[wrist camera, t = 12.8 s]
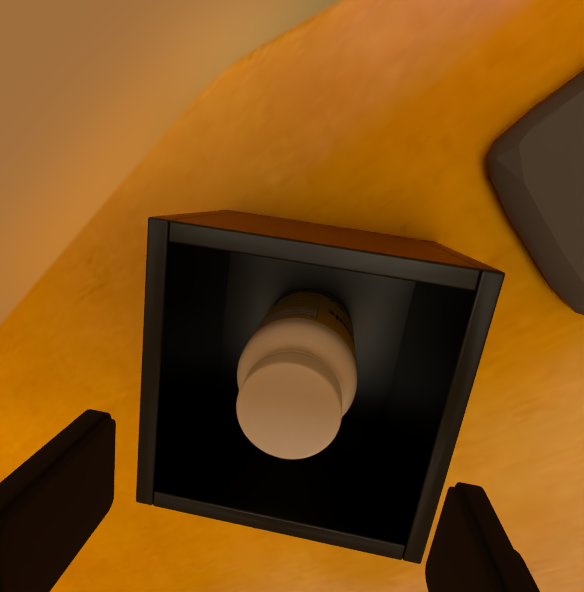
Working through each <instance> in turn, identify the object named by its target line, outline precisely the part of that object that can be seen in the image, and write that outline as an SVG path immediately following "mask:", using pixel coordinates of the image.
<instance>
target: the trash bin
mask: <svg viewBox="0 0 584 592" xmlns="http://www.w3.org/2000/svg"><path fill="white" fill-rule="evenodd" d="M504 276H505V273H504V272H502V271H499V270H497V269H495V268H493V267H490V266H488V265H486V264H484V263H481V262H479V261H477V260H475V259H472V258H470V257H468V256H466V255H463V254H461V253H459V252H457V251H454V250H452V249H450V248H448V247H445V246H443V245H441V244H439V243H437V242H434V241H427V240H420V239H414V238H407V237H401V236H394V235H388V234H381V233H375V232H368V231H361V230H355V229H348V228H342V227H335V226H329V225H322V224H316V223H309V222H302V221H296V220H289V219H283V218H276V217H270V216H263V215H257V214H250V213H243V212H237V211H230V210H220V211H209V212H198V213H187V214H176V215H166V216H155V217H149V218H148V237H147V260H146V282H145V305H144V328H143V351H142V374H141V397H140V420H139V443H138V466H137V489H136V502H139V503H144V504H148V505H152V504H153V505H154V506H157V507H162V508H166V509H171V510H175V511H180V512H184V513H189V514H194V515H198V516H203V517H207V518H212V519H216V520H221V521H225V522H230V523H235V524H239V525H244V526H248V527H253V528H257V529H262V530H266V531H271V532H276V533H280V534H285V535H289V536H294V537H298V538H303V539H307V540H312V541H317V542H321V543H326V544H330V545H335V546H339V547H344V548H348V549H353V550H358V551H362V552H367V553H371V554H376V555H380V556H385V557H389V558H394V559H399V560H401V559H403V560H404V561H409V562H413V563H418V564H420V563H421V561H422V557H423V554H424V551H425V547H426V544H427V540H428V537H429V533H430V530H431V527H432V523H433V520H434V516H435V513H436V509H437V506H438V503H439V499H440V496H441V492H442V489H443V485H444V482H445V479H446V475H447V472H448V468H449V465H450V461H451V458H452V455H453V451H454V448H455V444H456V441H457V437H458V434H459V431H460V427H461V424H462V420H463V417H464V414H465V410H466V407H467V403H468V400H469V396H470V393H471V390H472V386H473V383H474V379H475V376H476V372H477V369H478V366H479V362H480V359H481V355H482V352H483V348H484V345H485V342H486V338H487V335H488V331H489V328H490V324H491V321H492V318H493V314H494V311H495V307H496V304H497V300H498V297H499V294H500V290H501V287H502V283H503V280H504ZM303 289H312V290H318V291H322V292H325V293H327V294H329V295H331V296H332V297H334V298H335V299H337V300H338V301H339V302H340V303H341V304H342V305H343V306H344V308H345V309H346V311H347V313H348V314H349V317H350V319H351V322H352V327H353V333H354V344H355V355H356V364H357V388H356V393H355V396H354V399H353V402H352V404H351V406H350V407H349V409H348V411H347V412H346V413H345V414H344V416H343V417H342V418H341V424H340V427H339V430H338V432H337V434H336V436H335V438H334V439H333V441H332V442H331V443H330V444H329V445H328V446H327V447H326V448H325V449H323V450H322V451H320V452H319V453H317V454H315V455H312V456H310V457H306V458H301V459H284V458H279V457H275V456H272V455H270V454H267V453H266V452H264V451H262V450H260V449H259V448H258V447H256V446H255V445H254V444H253V443H252V442H251V441H250V440H249V439H248V438H247V436H246V435H245V434H244V432H243V430H242V429H241V427H240V424H239V421H238V418H237V410H236V402H237V397H238V393H239V387H238V381H237V370H238V363H239V360H240V356H241V354H242V352H243V350H244V348H245V346H246V344H247V343H248V341H249V340H250V338H251V337H252V335H253V334H254V332H255V331H256V329H257V328H258V326H259V325H260V323H261V322H262V320H263V319H264V317H265V316H266V314H267V313H268V311H269V310H270V309H271V307H272V306H273V305H274V304H275V303H276V302H277V301H278V300H279V299H280V298H282V297H283V296H284V295H286V294H288V293H291V292H294V291H297V290H303Z"/></svg>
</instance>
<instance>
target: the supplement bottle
mask: <svg viewBox="0 0 584 592" xmlns="http://www.w3.org/2000/svg"><path fill="white" fill-rule="evenodd" d="M237 381H238V387H239V393H238V397H237V402H236V410H237V418H238V421H239V424H240V427H241V429H242V430H243V432H244V434H245V435H246V436H247V438H248V439H249V440H250V441H251V442H252V443H253V444H254V445H255V446H256V447H258V448H259V449H260V450H262V451H264V452H266V453H267V454H270V455H272V456H275V457H279V458H284V459H301V458H306V457H310V456H312V455H315V454H317V453H319V452H320V451H322V450H323V449H325V448H326V447H327V446H328V445H329V444H330V443H331V442H332V441H333V439H334V438H335V436H336V434H337V432H338V430H339V427H340V424H341V418H342V417H343V416H344V414H345V413H346V412H347V411H348V409H349V407H350V406H351V404H352V402H353V399H354V396H355V393H356V388H357V364H356V355H355V344H354V333H353V327H352V322H351V319H350V317H349V314H348V313H347V311H346V309H345V308H344V306H343V305H342V304H341V303H340V302H339V301H338V300H337V299H335V298H334V297H332V296H331V295H329V294H327V293H325V292H322V291H318V290H312V289H303V290H297V291H294V292H291V293H288V294H286V295H284V296H283V297H282V298H280V299H279V300H278V301H277V302H276V303H275V304H274V305H273V306H272V307H271V309H270V310H269V311H268V313H267V314H266V316H265V317H264V319H263V320H262V322H261V323H260V325H259V326H258V328H257V329H256V331H255V332H254V334H253V335H252V337H251V338H250V340H249V341H248V343H247V344H246V346H245V348H244V350H243V352H242V354H241V356H240V360H239V363H238V370H237Z"/></svg>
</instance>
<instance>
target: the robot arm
mask: <svg viewBox="0 0 584 592" xmlns="http://www.w3.org/2000/svg"><path fill="white" fill-rule="evenodd" d="M115 430H116V423H115V420H114V419H111V415H110V414H109V413H107V412H102V411H97V410H91V409H89V410H86V411H85V412H84V413H83V414H81V415H80V416H79V417H78V418H77V419H75V420H74V421H73V422H72V423H71V424H69V425H68V426H67V427H66V428H65V429H63V430H62V431H61V432H60V433H59V434H58V435H56V436H55V437H54V438H53V439H52V440H50V441H49V442H48V443H47V444H46V445H44V446H43V447H42V448H41V449H40V450H38V451H37V452H36V453H35V454H34V455H33V456H31V457H30V458H29V459H28V460H27V461H25V462H24V463H23V464H22V465H21V466H19V467H18V468H17V469H16V470H15V471H13V472H12V473H11V474H10V475H9V476H8V477H6V478H5V479H4V480H3V481H2V482H0V592H50V590H51V589H52V588H53V586H54V585H55V584H56V582H57V581H58V579H59V578H60V577H61V575H62V574H63V573H64V571H65V570H66V569H67V567H68V566H69V564H70V563H71V562H72V560H73V559H74V558H75V556H76V555H77V554H78V552H79V551H80V549H81V548H82V547H83V545H84V544H85V543H86V541H87V540H88V539H89V537H90V536H91V534H92V533H93V532H94V530H95V529H96V528H97V526H98V525H99V524H100V522H101V521H102V519H103V518H104V517H105V515H106V514H107V513H108V511H109V510H110V507H111V505H112V503H113V499H114V469H115ZM425 576H426V583H427V587H428V592H540V591H539V589H538V587H537V585H536V583H535V581H534V579H533V577H532V575H531V574H530V572H529V570H528V568H527V566H526V564H525V562H524V560H523V558H522V557H521V555H520V554H519V553H518V552H517V551H516V550H514V549H513V547H512V545H511V543H510V541H509V539H508V537H507V535H506V533H505V531H504V529H503V527H502V525H501V523H500V521H499V519H498V517H497V515H496V513H495V511H494V509H493V507H492V505H491V503H490V501H489V499H488V497H487V495H486V493H485V491H484V490H483V488H482V487H480V486H476V485H471V484H466V483H461V482H458V483H457V484H456V486H455V487H449V489H448V491H447V495H446V498H445V502H444V505H443V508H442V512H441V515H440V518H439V522H438V525H437V529H436V532H435V535H434V539H433V542H432V545H431V549H430V552H429V556H428V559H427V562H426V568H425Z"/></svg>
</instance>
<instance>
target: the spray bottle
mask: <svg viewBox="0 0 584 592" xmlns="http://www.w3.org/2000/svg"><path fill="white" fill-rule="evenodd" d="M487 162H488V169H489V177H490V179H491V181H492V183H493V185H494V188H495V190H496V192H497V194H498V196H499V198H500V201H501V203H502V205H503V207H504V209H505V211H506V214H507V216H508V218H509V220H510V221H511V223H512V225H513V226H514V228H515V230H516V231H517V233H518V235H519V236H520V238H521V240H522V241H523V243H524V245H525V246H526V248H527V250H528V251H529V253H530V255H531V256H532V258H533V260H534V261H535V263H536V265H537V266H538V268H539V269H540V271H541V273H542V274H543V276H544V278H545V279H546V281H547V283H548V284H549V285H550V287H551V288H552V289H553V290H554V291H555V292H556V293H557V295H558V296H559V297H560V298H561V299H562V300H563V301H564V302H565V303H566V304H567V305H568V306H569V307H570V308H571V309H573V310H574V311H575V312H576V313H580V314H583V315H584V71H583V72H581V73H580V74H579V75H577V76H576V77H575V78H573V79H572V80H570V81H569V82H568V83H566V84H565V85H564V86H562V87H561V88H560V89H558V90H557V91H555V92H554V93H553V94H551V95H550V96H549V97H547V98H546V99H545V100H543V101H542V102H540V103H539V104H538V105H536V106H535V107H534V108H532V109H531V110H530V111H529V112H528V113H527V114H525V115H524V116H523V117H522V118H521V119H520V120H519V121H517V122H516V123H515V124H514V125H513V126H512V127H510V128H509V129H508V130H507V131H506V132H505V133H504V134H502V135H501V136H500V137H499V138H498V139H497V140H495V142H494V144H493V146H492V147H491V149H490V151H489V153H488V155H487Z"/></svg>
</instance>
